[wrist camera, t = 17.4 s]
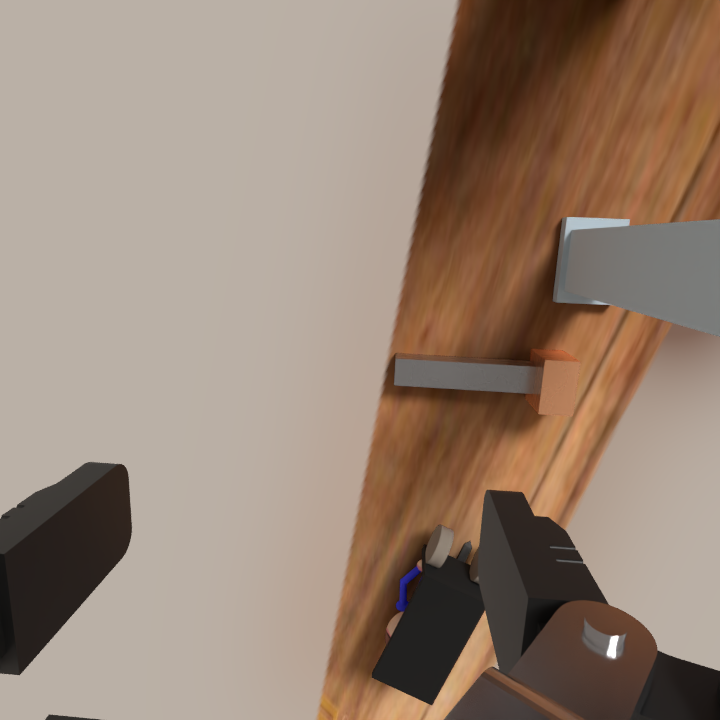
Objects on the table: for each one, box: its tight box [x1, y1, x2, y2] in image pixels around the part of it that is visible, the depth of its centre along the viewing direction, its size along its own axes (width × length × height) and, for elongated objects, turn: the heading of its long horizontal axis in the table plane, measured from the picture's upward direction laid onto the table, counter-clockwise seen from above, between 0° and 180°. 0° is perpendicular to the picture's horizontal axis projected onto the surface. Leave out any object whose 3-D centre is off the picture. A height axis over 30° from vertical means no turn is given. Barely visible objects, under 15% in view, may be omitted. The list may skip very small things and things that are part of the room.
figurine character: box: [372, 525, 485, 705], centre depth 49 cm, size 7×8×15 cm
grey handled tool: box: [394, 349, 581, 416], centre depth 45 cm, size 5×15×5 cm, turn 88°
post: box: [552, 217, 720, 337], centre depth 29 cm, size 7×5×32 cm
